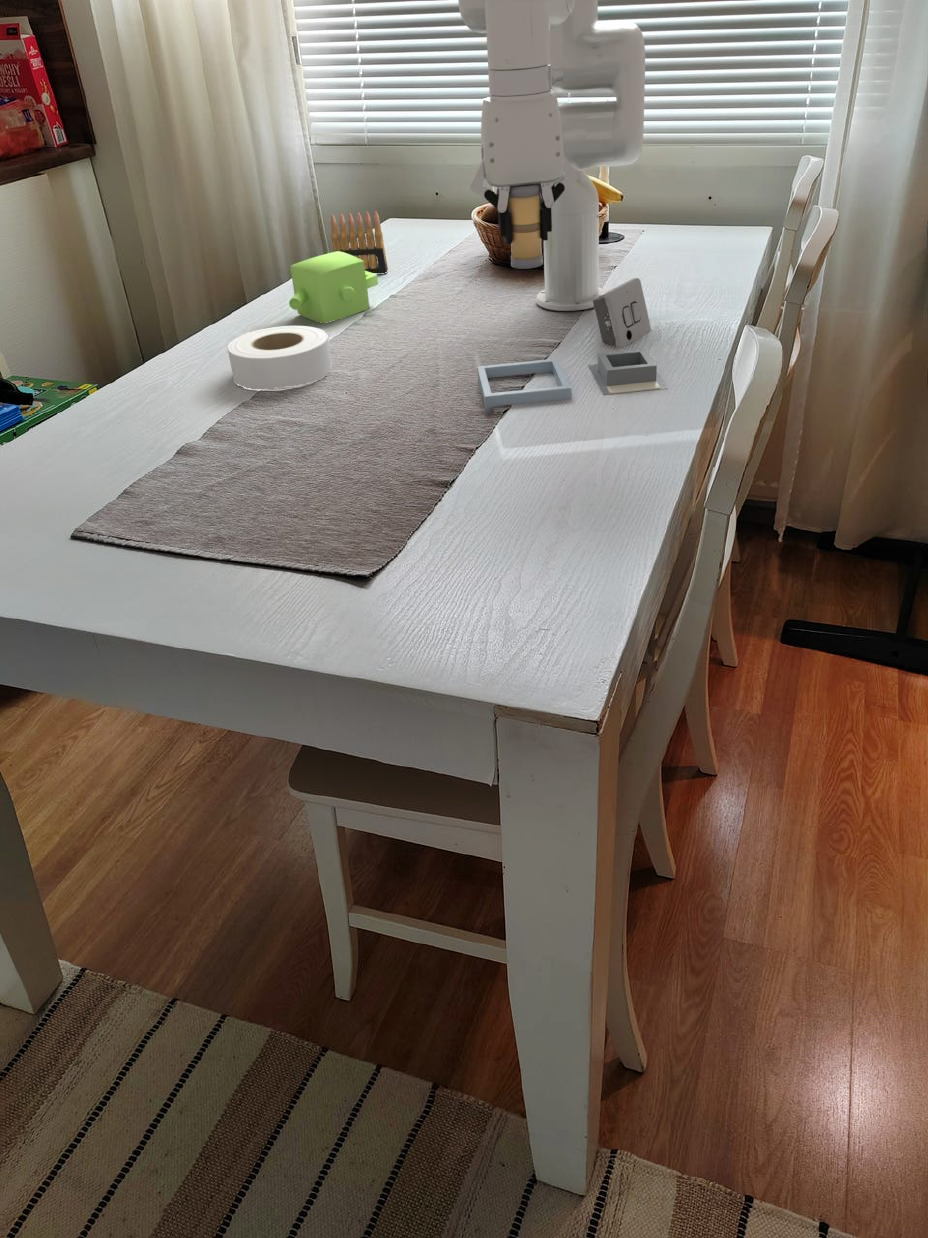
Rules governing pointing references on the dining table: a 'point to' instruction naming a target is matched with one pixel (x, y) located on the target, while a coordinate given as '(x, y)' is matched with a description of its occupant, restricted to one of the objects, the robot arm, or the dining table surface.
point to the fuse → (525, 226)
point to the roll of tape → (280, 357)
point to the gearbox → (331, 286)
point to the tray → (522, 395)
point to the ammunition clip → (361, 241)
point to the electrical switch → (622, 314)
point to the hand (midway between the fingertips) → (525, 238)
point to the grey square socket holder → (626, 372)
